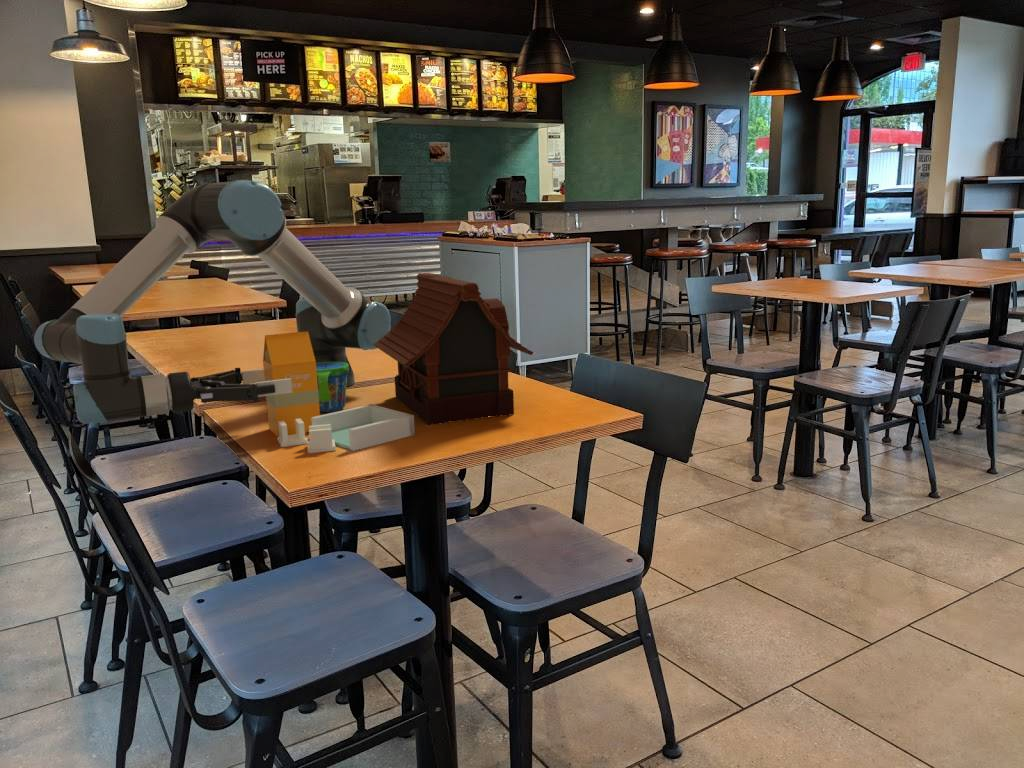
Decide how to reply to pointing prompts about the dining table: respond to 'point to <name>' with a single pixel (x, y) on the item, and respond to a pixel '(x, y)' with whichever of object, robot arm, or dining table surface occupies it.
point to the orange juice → (297, 362)
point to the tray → (367, 426)
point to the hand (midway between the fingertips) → (282, 379)
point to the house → (452, 352)
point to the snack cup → (332, 385)
